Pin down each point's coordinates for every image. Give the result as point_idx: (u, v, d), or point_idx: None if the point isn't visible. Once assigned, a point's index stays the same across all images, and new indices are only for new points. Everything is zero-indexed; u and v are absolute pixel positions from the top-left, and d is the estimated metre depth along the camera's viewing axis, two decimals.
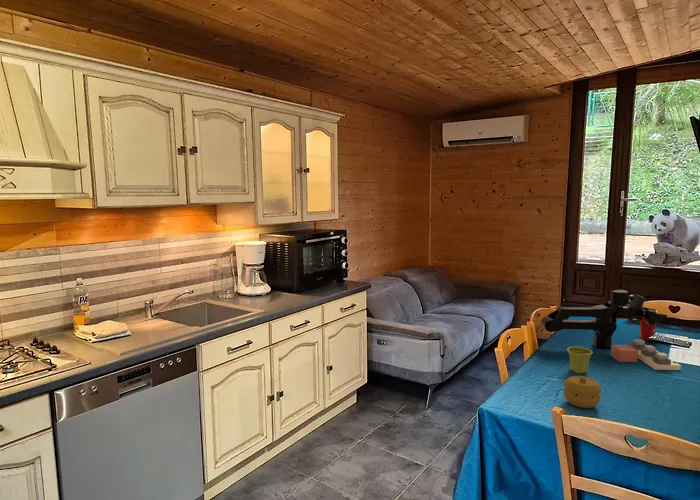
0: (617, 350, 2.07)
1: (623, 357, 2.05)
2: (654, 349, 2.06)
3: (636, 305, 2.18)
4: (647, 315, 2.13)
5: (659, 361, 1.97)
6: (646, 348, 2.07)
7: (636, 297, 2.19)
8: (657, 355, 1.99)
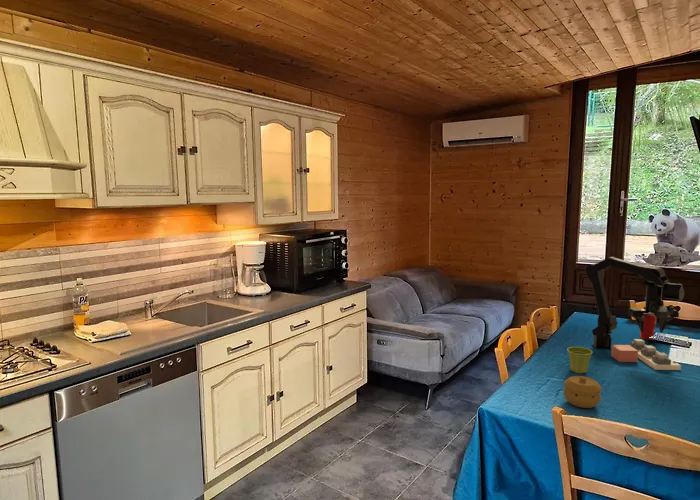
0: (617, 350, 2.07)
1: (623, 357, 2.05)
2: (654, 349, 2.06)
3: (653, 306, 2.01)
4: (635, 309, 2.05)
5: (659, 361, 1.97)
6: (646, 348, 2.07)
7: (662, 310, 1.98)
8: (657, 355, 1.99)
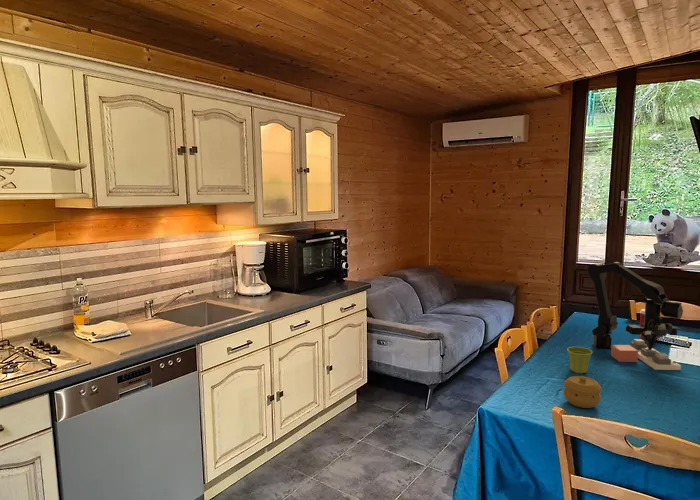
0: (617, 350, 2.07)
1: (623, 357, 2.05)
2: (654, 351, 2.06)
3: (651, 324, 2.02)
4: (633, 326, 2.06)
5: (659, 361, 1.97)
6: (646, 350, 2.08)
7: (660, 328, 1.99)
8: (657, 355, 1.99)
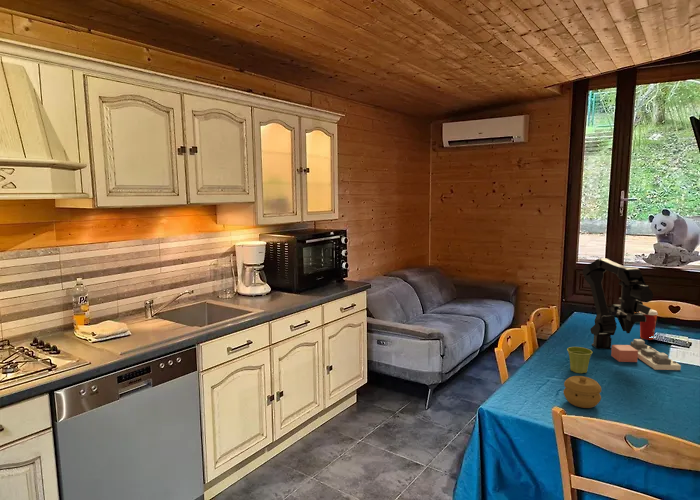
0: (617, 350, 2.07)
1: (623, 357, 2.05)
2: None
3: (640, 305, 2.03)
4: (639, 314, 1.98)
5: (659, 361, 1.97)
6: None
7: (646, 306, 2.05)
8: (657, 355, 1.99)
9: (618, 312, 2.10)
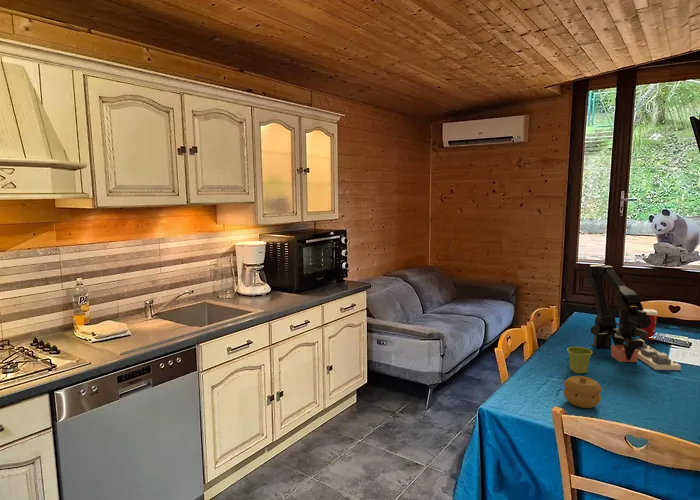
0: (617, 350, 2.07)
1: (623, 357, 2.05)
2: None
3: (638, 330, 2.05)
4: (637, 339, 2.00)
5: (659, 361, 1.97)
6: None
7: (644, 331, 2.06)
8: (657, 355, 1.99)
9: (614, 335, 2.14)
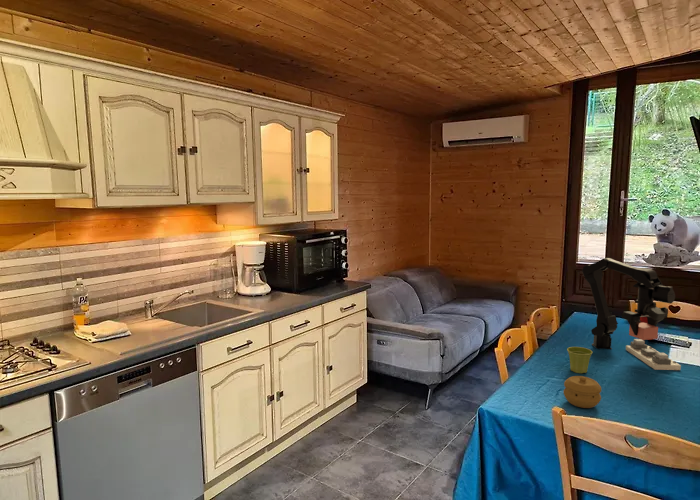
0: None
1: (632, 331, 2.08)
2: None
3: (648, 309, 2.01)
4: (631, 313, 2.03)
5: (659, 361, 1.97)
6: None
7: (659, 312, 1.98)
8: (657, 355, 1.99)
9: None
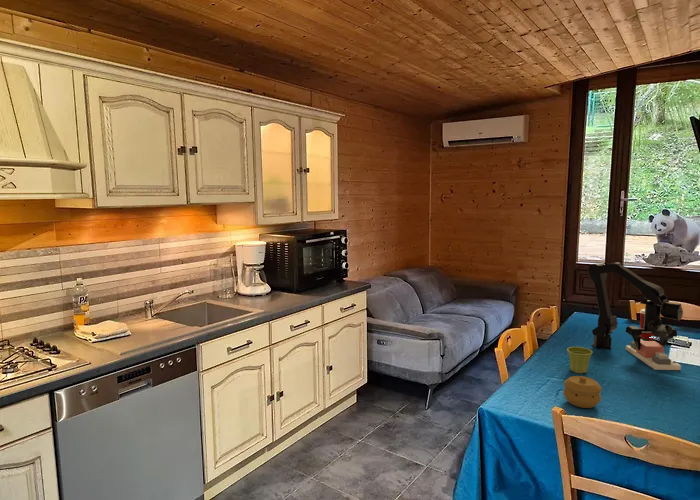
0: None
1: None
2: None
3: (651, 325, 2.02)
4: (633, 328, 2.06)
5: (659, 361, 1.97)
6: None
7: (660, 329, 1.99)
8: (657, 355, 1.99)
9: None
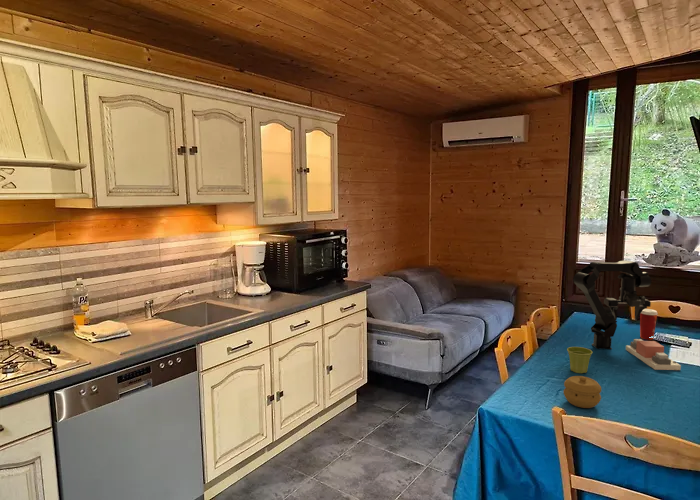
0: None
1: (638, 348, 2.10)
2: None
3: (626, 296, 2.20)
4: (610, 299, 2.24)
5: (659, 361, 1.97)
6: None
7: (634, 299, 2.17)
8: (657, 355, 1.99)
9: None
